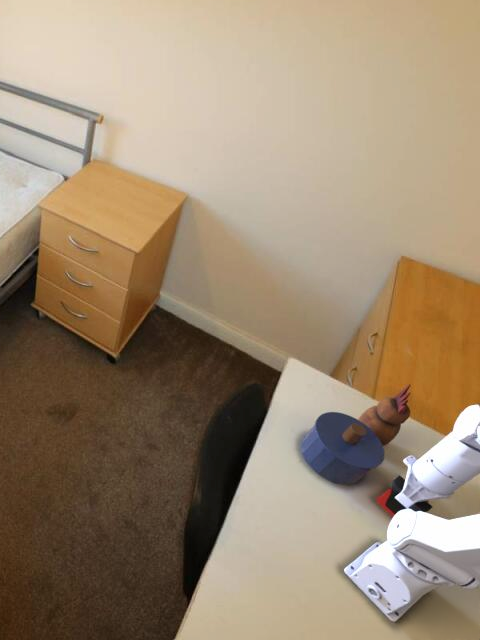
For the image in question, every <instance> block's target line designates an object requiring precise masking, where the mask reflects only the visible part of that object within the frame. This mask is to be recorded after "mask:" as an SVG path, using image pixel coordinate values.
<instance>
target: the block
mask: <svg viewBox="0 0 480 640" xmlns="http://www.w3.org/2000/svg"><path fill="white" fill-rule="evenodd" d="M390 494H391V487H389V488H388V489H387V490H386V491H385V492H383V493H382V494H381V495H380V496H378V497H377V498H376V499H375V502H376V503H377V504H378V505H380V506H381V507H382V508H383V509H384V510H385V511H386V512H387V513H388V514H389V515H390V516H392V518H393V517H394V516H395V514H394V513H393V512H392V511H391V510H390V509H388V508H387V507H386V506H385V503H386V501H387V499H388V497H389V496H390ZM429 501H430V500H428V501H427V502H428V503H429ZM415 512H416V511H415Z"/></svg>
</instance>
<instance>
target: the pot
mask: <svg viewBox="0 0 480 640" xmlns="http://www.w3.org/2000/svg"><path fill="white" fill-rule="evenodd" d="M300 451H301V454H302V457H303V459H304V461H305V462H306V464H307V465H308V466H309V467H310V468H311V469H312V471H314V472H315V473H316V474H317V475H319V476H320V477H322V478H323V479H325V480H327V481H329V482H331V483H334V484H337V485H343V486H344V485H345V486H347V485H348V486H350V485H353V484H355V483H357V482H358V481H359V480H361V479H362V478H363V477H364V476H365V475H367V474H368V473H369V472H370V471H371V470H372V469H359V468H355V467H352V466H349V465H347V464H345V463H343V462H341V461H339V460H338V459H336V458H335V457H334V456H332V455H331V454H330V453H329V452H328V451H327V450H326V449H325V448H324V447H323V446H322V444H321V443H320V441H319V440H318V438H317V436H316V433H315V424H314V425H313V426H312V427H311V428H310V430H309V431H307V433H306V434H305V435H304V436H303V438H302V440H301V442H300Z"/></svg>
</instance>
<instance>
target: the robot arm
mask: <svg viewBox="0 0 480 640" xmlns="http://www.w3.org/2000/svg"><path fill="white" fill-rule="evenodd" d="M402 462H403V464H405V466H407V470H406V471H407V472H406V475H405V478H403V477H402V476H401V475H400V474H399V475H398V476H396V477H395V478H394V479H393V480H392V481H391V483H390V488H391V494H390V496H389V497H388V499H387V501H386V503H385V506H386V507H387V508H388V509H390V510H391V511H392V512H393V513H394V514H395V516H394V517H393V516H392V518H391V520H390V522H389V524H388V526H387V529H386V530H387V532H386V539H387V540H385V541H384V542H383V543H382V542H380V541H376V542H375V543H374V544H372V545H371V546H370V547H369V548H367V550H365V551H364V552H363V553H361V554H360V555H359V556H358V557H356V558H355V560H353V561H352V562H351V563H350V564H348V565H347V566H346V567H345V568H344V569H343V572H344V574H346V576H348V577H349V579H350V580H351V581H352V582H353V584H355V585H356V586H357V587H358V588H359V589H360V590H361V592H362V593H363V594H365V595H366V596H367V598H368V599H369V600H370V601H371V602H372V603H373V604H374V605H375V606H376V607H377V608H378V609H379V610H380V611H381V612H382V613H383V614H384V615H385V616H386V617H387V619H388V620H389V621H391V622H392V623H395V622H397V621H398V620H399V619H400V618H401V617H402V616H403V615H404V614H405V613H406V612H407V611H408V610H409V609H411V608H412V607H413V606H414V605H415V604H416V603H417V602H418V601H419V600H420V599H421V598H422V597H423V596H424V595H426V594H428V593H429V592H431V591H433V590H435V589H437V588H438V587H440V586H443V585H444V586H447V587H449V588H452V587H454V586H456V585H457V586H458V587H459V588H461V589H463V590H466V591H469V590H473V589H477V588H478V587H480V513H477V514H473V515H467V516H463V517H458V518H457V517H456V518H453V519H447V518H443V517H440V516H437V515H434V514H431V513H428V512H429V511H430V510H432V509H433V508H434V506H433V505H431V503H429V502H427V501H428V500H429V501H435V500H443V499H448V498H450V497H451V496H453V495H454V494H455V491H457V490H459V488H460V489H461V487H463V486H464V485H465V484H467V483H468V482H469V481H471V480H472V479H474V478H475V477H477V476H478V475H480V405H479V404H474V405H468V406H467V407H466V408H465V409H464V410H462V411H461V412H460V414H459V415H458V417H457V418H456V420H455V422H454V425H453V428H452V431H450V432H449V434H447V435H446V436H444V437H443V438H442V439H441V440H440V441H439V442H437V443H436V444H435V445H434V446H432V447H431V448H430V449H429V450H428V451H427V452H425V453H424V454H423V455H422V456H421V457H419V458H416V457H415V456H414V455H411V454H409V455H408V456H406V457H405V458H404V459H403V460H402ZM415 511H416V512H415Z"/></svg>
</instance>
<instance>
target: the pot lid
mask: <svg viewBox="0 0 480 640" xmlns="http://www.w3.org/2000/svg"><path fill="white" fill-rule="evenodd" d="M314 425H315V433H316V436H317V438H318V440H319V441H320V443H321V444H322V446H323V447H324V448H325V449H326V450H327V451H328V452H329V453H330V454H331V455H332V456H334V457H335V458H336V459H338V460H339V461H341V462H343V463H345V464H347V465H349V466H352V467H355V468H359V469H371V470H373V469H376V468H378V467H379V466H381V465H382V463H383V461H384V460H385V455H386V454H385V448H384V446H383V445H382V443H381V441H380V440H379V438H378V437H377V436H376V434H375V433H374V432H373V431H372V430H371V429H370V428H369V427H368V426H366V425H365V424H364V423H362V422H361V421H359V420H358V418H355V417H354V416H352V415H349V414H347V413H343V412H342V413H341V412H338V411H328V412H324V413H322V414H320V415H319V416H318V417H317V418H316V420H315V422H314Z"/></svg>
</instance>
